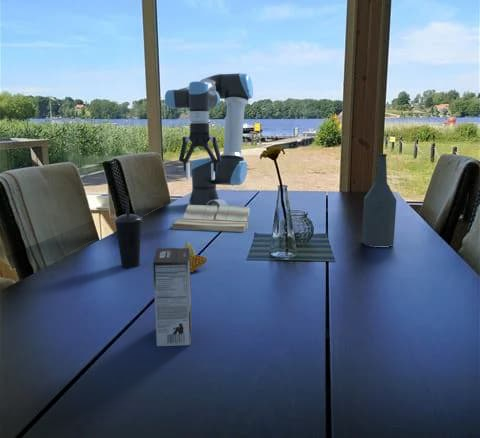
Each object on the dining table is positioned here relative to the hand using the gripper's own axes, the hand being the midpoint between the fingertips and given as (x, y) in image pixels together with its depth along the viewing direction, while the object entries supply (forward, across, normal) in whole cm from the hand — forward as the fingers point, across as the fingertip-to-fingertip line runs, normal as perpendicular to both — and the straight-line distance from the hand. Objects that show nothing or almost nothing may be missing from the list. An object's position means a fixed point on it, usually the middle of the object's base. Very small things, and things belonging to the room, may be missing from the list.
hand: (200, 179), depth 182 cm
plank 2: (+15, +13, 0) cm, 20 cm away
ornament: (+18, +13, -58) cm, 62 cm away
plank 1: (+15, 0, 0) cm, 15 cm away
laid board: (+18, +6, -10) cm, 21 cm away
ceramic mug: (+18, +2, +13) cm, 22 cm away
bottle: (+18, +67, -23) cm, 73 cm away
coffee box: (+18, +23, -99) cm, 103 cm away
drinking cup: (+18, -4, -60) cm, 63 cm away
